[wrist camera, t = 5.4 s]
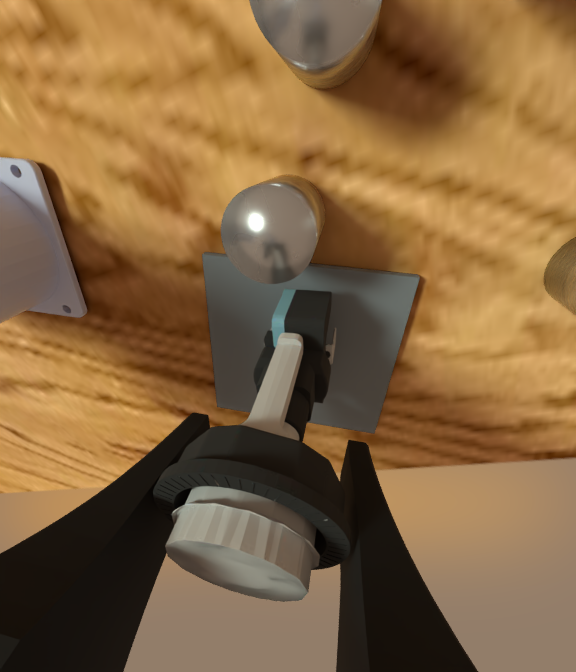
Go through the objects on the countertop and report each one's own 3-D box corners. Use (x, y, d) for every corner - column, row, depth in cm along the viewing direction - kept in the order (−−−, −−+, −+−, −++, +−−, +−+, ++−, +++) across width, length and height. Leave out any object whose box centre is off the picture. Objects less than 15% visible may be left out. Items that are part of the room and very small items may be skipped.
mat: (219, 402, 20) (217, 406, 20) (205, 252, 15) (202, 254, 15) (374, 428, 19) (374, 433, 19) (417, 274, 14) (419, 277, 13)
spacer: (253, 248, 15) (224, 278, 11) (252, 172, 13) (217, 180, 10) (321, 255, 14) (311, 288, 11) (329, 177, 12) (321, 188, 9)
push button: (354, 392, 17) (339, 639, 9) (262, 380, 18) (179, 593, 10) (366, 283, 13) (356, 560, 5) (246, 277, 14) (91, 499, 6)
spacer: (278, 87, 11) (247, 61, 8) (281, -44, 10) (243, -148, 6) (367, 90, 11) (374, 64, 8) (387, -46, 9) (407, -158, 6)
